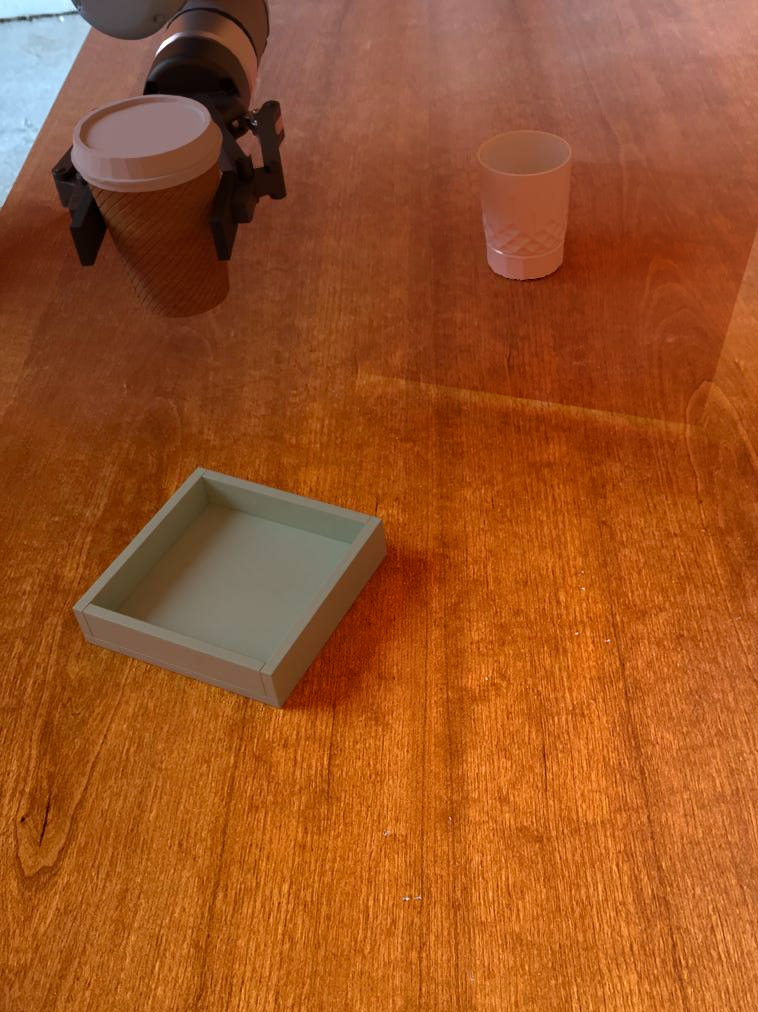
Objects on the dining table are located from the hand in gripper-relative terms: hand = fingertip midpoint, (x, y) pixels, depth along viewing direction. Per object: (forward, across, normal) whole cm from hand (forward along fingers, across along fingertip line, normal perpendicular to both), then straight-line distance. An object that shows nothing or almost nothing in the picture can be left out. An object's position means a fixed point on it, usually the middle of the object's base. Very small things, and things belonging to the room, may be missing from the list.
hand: (150, 243), depth 75 cm
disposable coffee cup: (-5, 0, -7) cm, 8 cm away
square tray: (+14, -4, -18) cm, 23 cm away
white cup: (-26, -25, -18) cm, 40 cm away
